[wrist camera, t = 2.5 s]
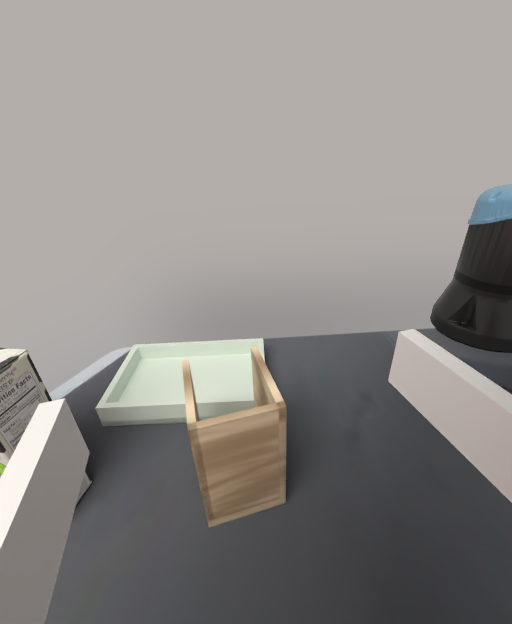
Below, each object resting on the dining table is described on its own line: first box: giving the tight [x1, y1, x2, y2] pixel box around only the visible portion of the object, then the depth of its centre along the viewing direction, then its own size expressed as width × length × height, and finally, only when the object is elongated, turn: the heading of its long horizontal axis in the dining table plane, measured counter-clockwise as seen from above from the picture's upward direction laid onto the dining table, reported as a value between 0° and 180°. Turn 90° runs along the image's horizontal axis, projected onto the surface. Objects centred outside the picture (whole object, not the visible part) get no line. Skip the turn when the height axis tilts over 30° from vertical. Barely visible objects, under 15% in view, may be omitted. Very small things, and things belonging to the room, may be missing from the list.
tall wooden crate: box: [182, 346, 287, 528], centre depth 26 cm, size 8×7×12 cm
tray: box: [95, 338, 265, 426], centre depth 40 cm, size 20×13×3 cm, turn 91°
